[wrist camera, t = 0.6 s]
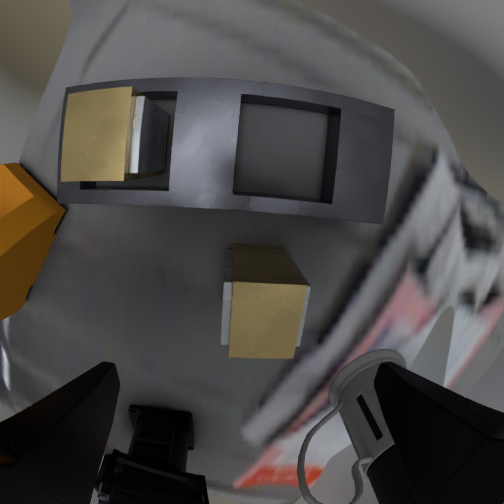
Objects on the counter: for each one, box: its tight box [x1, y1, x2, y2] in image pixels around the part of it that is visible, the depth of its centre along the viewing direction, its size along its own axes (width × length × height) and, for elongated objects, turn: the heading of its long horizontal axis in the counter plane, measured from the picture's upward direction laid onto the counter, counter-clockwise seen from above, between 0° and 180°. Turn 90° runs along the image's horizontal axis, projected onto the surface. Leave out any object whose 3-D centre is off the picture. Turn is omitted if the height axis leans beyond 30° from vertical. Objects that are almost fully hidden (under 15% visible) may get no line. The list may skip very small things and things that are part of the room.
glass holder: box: [297, 349, 418, 504], centre depth 18 cm, size 9×14×15 cm, turn 78°
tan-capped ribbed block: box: [61, 86, 169, 182], centre depth 15 cm, size 4×4×7 cm
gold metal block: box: [221, 244, 311, 359], centre depth 18 cm, size 4×4×7 cm
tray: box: [57, 78, 394, 224], centre depth 17 cm, size 8×22×2 cm, turn 85°
